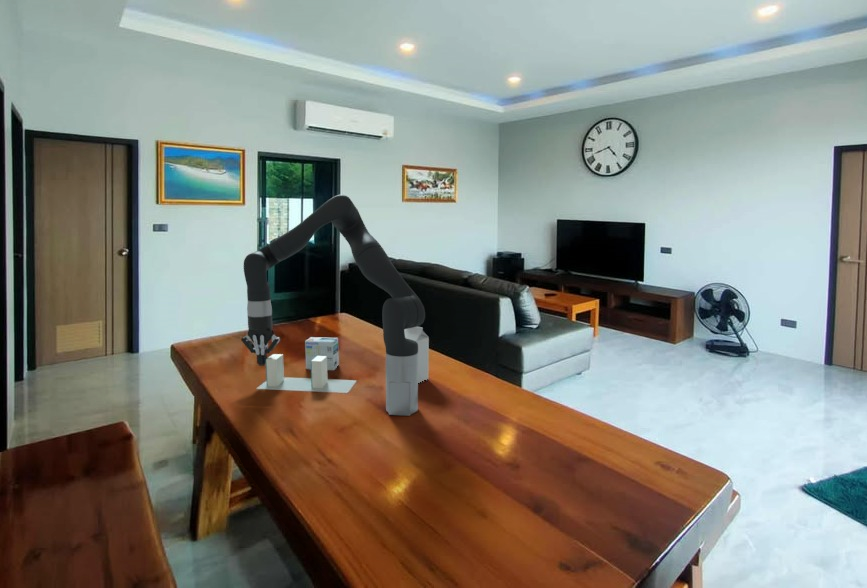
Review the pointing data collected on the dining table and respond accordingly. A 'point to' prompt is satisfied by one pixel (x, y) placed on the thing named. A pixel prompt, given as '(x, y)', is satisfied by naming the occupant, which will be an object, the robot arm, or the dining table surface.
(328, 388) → the runner
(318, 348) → the light bulb box
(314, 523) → the dining table surface
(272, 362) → the tile
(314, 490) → the dining table surface
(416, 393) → the robot arm
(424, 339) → the milk carton
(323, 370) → the block
